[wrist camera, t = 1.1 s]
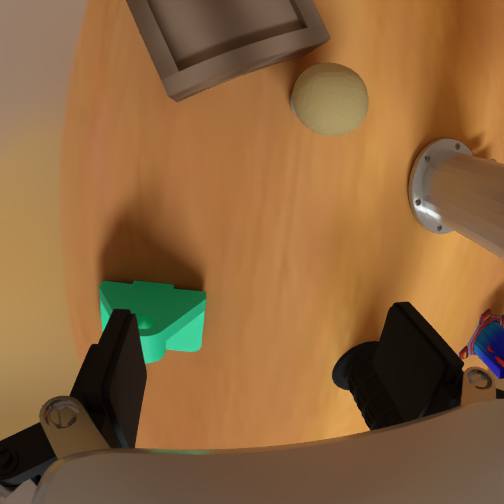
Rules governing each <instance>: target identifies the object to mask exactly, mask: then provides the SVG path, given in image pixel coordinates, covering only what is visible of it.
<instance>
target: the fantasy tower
mask: <svg viewBox="0 0 504 504" xmlns="http://www.w3.org/2000/svg"><path fill="white" fill-rule="evenodd" d="M500 321H501V317H500V316H495V315H491V311H490V310H489V309H488V310H487V311H485V312H484V313H483V314H482V315H481V317H480V321H479V324H480V325H479V326H478V327H477V329H476V331H475V333H474V334H473V336H472V338H471V339H470V341H469V343H468V348H467V346H465V347H464V348H463V349H462V350H461V351H460V352H459V358H460V359H465V358H467V357H468V355H478V356H479V358H480V359H481V360H482V361H483V362H484V363H485V364H486V365H487V366H488V367H489V368H490V369H491V370H492V371H493V373H494V374H495V375H496V376H497V377H498V378H499V379H502V378H504V315H503V316H502V322H501V325H500Z"/></svg>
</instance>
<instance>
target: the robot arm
mask: <svg viewBox="0 0 504 504" xmlns="http://www.w3.org/2000/svg"><path fill="white" fill-rule="evenodd" d="M408 192H409V202H410V206H411V209H412V212H413V214H414V216H415V218H416V220H417V221H418V222H419V223H420V224H421V225H422V226H423V227H425V228H426V229H428V230H430V231H431V232H434V233H437V234H444V233H449V232H452V231H456V232H458V233H459V234H461V235H463V236H465V237H466V238H468V239H470V240H472V241H473V242H475V243H477V244H478V245H480V246H482V247H483V248H485V249H487V250H488V251H490V252H492V253H493V254H495V255H497V256H498V257H500V258H501V259H503V260H504V164H502V163H499V162H496V160H495V159H491V160H488V159H484V158H480V157H476V156H474V155H473V154H472V152H471V151H470V149H469V148H468V147H467V146H466V145H465V144H463V143H462V142H460V141H458V140H455V139H450V138H440V139H437V140H434V141H432V142H431V143H429V144H428V145H427V146H426V147H425V148H424V149H423V150H422V151H421V152H420V154H419V155H418V157H417V158H416V160H415V162H414V165H413V167H412V170H411V174H410V178H409V186H408ZM463 365H464V362H463V361H462V360H461V359H460V358H459V357H458V355H457V354H456V353H455V352H454V351H453V350H452V348H451V347H450V346H449V345H448V344H447V343H446V342H445V341H444V339H443V338H442V337H441V336H440V335H439V334H438V333H437V332H436V331H435V329H434V328H433V327H432V326H431V325H430V324H429V323H428V322H427V321H426V320H425V318H424V317H423V316H422V315H421V314H420V313H419V312H418V311H417V310H416V309H415V308H414V307H413V306H412V305H411V304H410V303H409V302H396V303H394V304H393V306H392V307H390V308H389V311H388V314H387V318H386V321H385V325H384V328H383V331H382V334H381V338H380V341H379V344H378V347H377V350H376V353H375V356H374V359H373V366H374V369H375V370H376V372H377V374H378V375H379V377H380V379H381V381H382V382H383V384H384V386H385V387H386V389H387V391H388V393H389V394H390V396H391V398H392V400H393V401H394V403H395V405H396V407H397V408H398V410H399V412H400V414H401V415H402V417H403V419H404V421H405V423H401V424H397V425H393V426H389V427H385V428H381V429H376V430H372V431H367V432H363V433H358V434H353V435H348V436H342V437H337V438H331V439H325V440H318V441H311V442H304V443H296V444H288V445H278V446H267V447H255V448H238V449H197V450H184V449H145V448H135V442H136V436H137V430H138V424H139V418H140V412H141V406H142V401H143V395H144V390H145V385H146V379H147V371H146V366H145V361H144V356H143V351H142V346H141V340H140V335H139V329H138V323H137V317H136V314H135V313H131V311H130V309H113V311H112V313H111V316H110V318H109V320H108V322H107V324H106V327H105V329H104V331H103V333H102V336H101V338H100V340H99V343H98V344H92V345H91V346H90V348H89V350H88V353H87V355H86V357H85V360H84V362H83V364H82V367H81V369H80V371H79V374H78V376H77V378H76V381H75V383H74V386H73V388H72V391H71V393H70V396H57V397H54V398H52V399H50V400H48V401H47V402H46V403H45V404H44V405H43V406H42V408H41V410H40V414H39V418H40V422H39V423H37V424H35V425H33V426H31V427H29V428H27V429H24V430H22V431H20V432H18V433H16V434H14V435H12V436H10V437H8V438H6V439H3V440H1V441H0V504H504V391H502V390H499V389H496V383H495V379H494V378H493V376H492V375H491V374H490V373H489V372H488V371H486V370H485V369H483V368H480V367H470V368H467V369H466V370H465V371H464V372H463V370H462V367H463Z"/></svg>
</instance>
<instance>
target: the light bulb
mask: <svg viewBox="0 0 504 504" xmlns="http://www.w3.org/2000/svg"><path fill="white" fill-rule="evenodd" d="M290 105H291V108H292V111H293V112H294V114H295V115H296V116H297V117H298V118H299V119H300V121H301V122H302V123H303V124H304V125H305V126H306V127H307V128H309V129H310V130H312V131H314V132H316V133H318V134H322V135H326V136H338V135H343V134H346V133H349V132H351V131H353V130H354V129H356V128H357V127H358V126H359V125H360V124H361V123H362V122H363V120H364V119H365V117H366V114H367V110H368V93H367V89H366V86H365V84H364V82H363V80H362V79H361V78H360V76H359V75H358V74H357V73H355V72H354V71H353V70H351V69H350V68H348V67H345V66H343V65H340V64H336V63H320V64H316V65H313V66H311V67H309V68H307V69H306V70H305V71H304V72H302V73H301V74H300V76H299V77H298V78H297V80H296V82H295V84H294V87H293V92H292V95H291V99H290Z"/></svg>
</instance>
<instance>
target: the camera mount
mask: <svg viewBox="0 0 504 504" xmlns="http://www.w3.org/2000/svg"><path fill="white" fill-rule="evenodd" d="M99 293H100V307H101V319H102V329H103V331H104V329H105V327H106V324H107V322H108V320H109V318H110V316H111V313H112V311H113V309H130V311H131V313H135V314H136V317H137V323H138V329H139V335H140V340H141V346H142V351H143V356H144V361H145V363H153V362H156V361H158V360H160V359H161V358H162V357H163V356H164V355H165V352H166V349H167V350H178V351H189V352H195V351H198V350H199V349H200V348H201V342H202V333H203V323H204V314H205V305H206V292H203V291H193V290H182V289H174V285H172V284H162V283H153V282H144V281H135V280H134V282H133V284H127V283H119V282H111V281H102V283H101V284H100V286H99Z"/></svg>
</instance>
